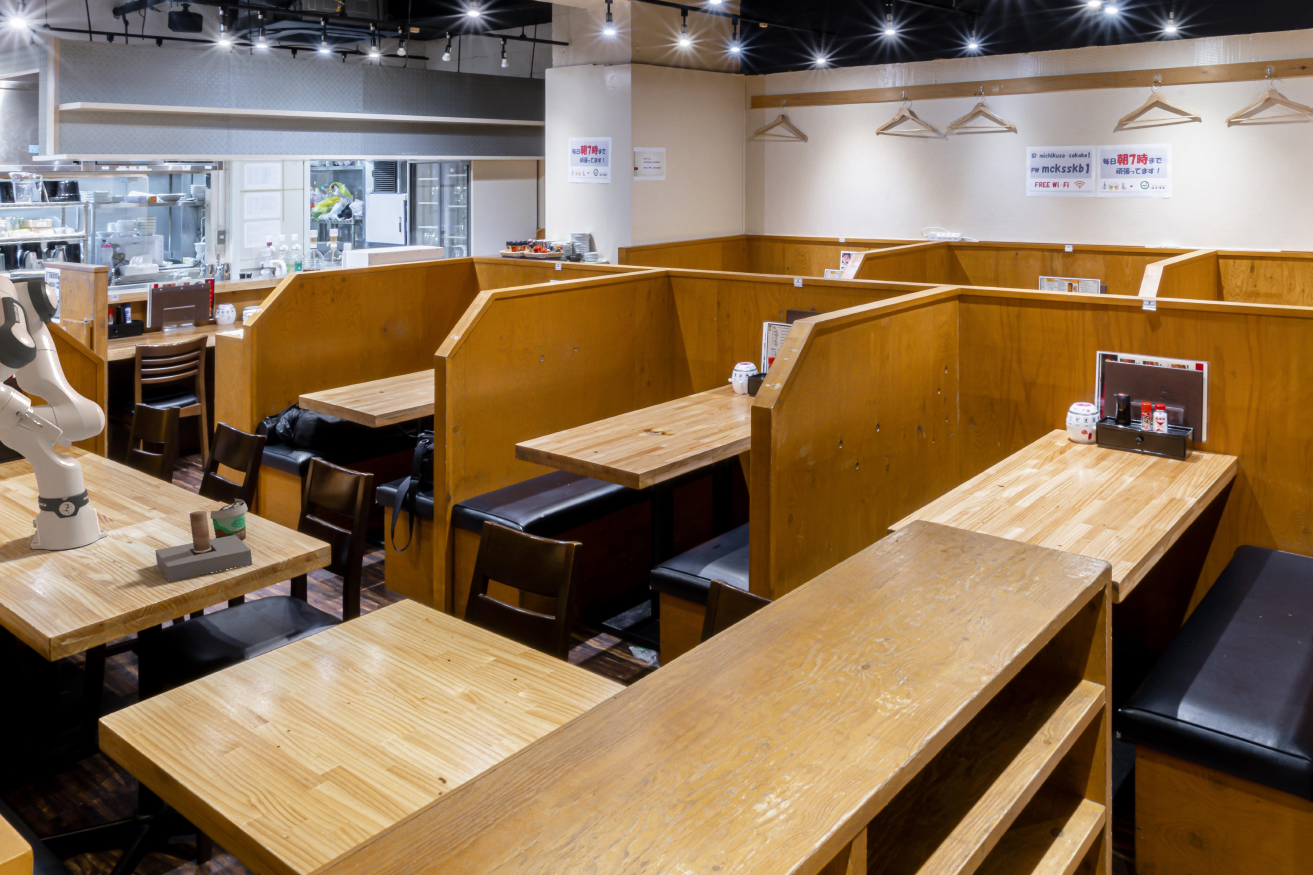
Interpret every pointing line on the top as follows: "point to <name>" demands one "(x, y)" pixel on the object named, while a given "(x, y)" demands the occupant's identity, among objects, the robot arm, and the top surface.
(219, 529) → the food container
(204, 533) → the peg
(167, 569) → the board
